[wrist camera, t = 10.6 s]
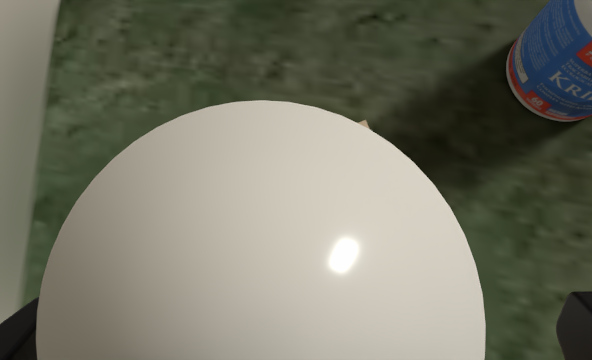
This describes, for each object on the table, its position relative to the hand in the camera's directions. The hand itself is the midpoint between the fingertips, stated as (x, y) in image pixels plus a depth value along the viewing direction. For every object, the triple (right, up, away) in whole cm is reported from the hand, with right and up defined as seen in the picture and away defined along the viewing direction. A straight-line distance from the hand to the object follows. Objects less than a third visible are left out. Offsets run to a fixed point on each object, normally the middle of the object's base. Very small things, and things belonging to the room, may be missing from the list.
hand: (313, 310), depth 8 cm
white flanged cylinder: (0, -1, +10) cm, 10 cm away
